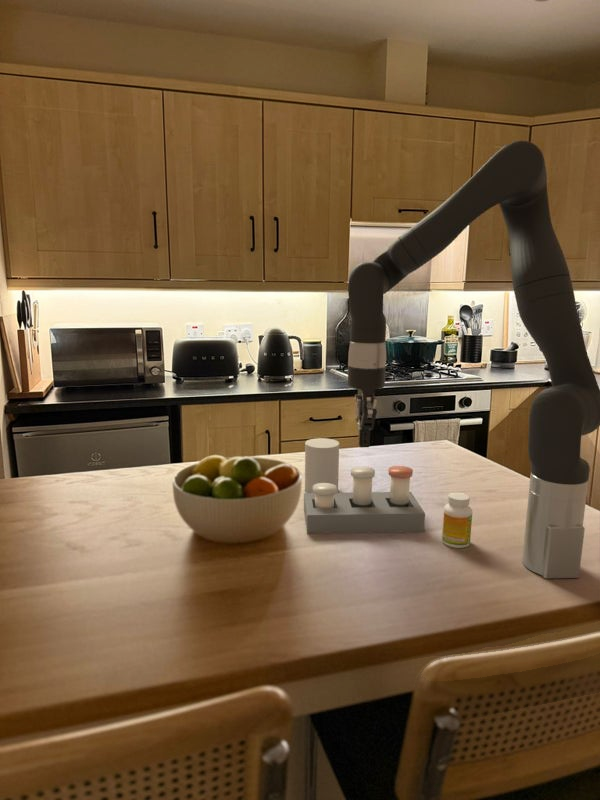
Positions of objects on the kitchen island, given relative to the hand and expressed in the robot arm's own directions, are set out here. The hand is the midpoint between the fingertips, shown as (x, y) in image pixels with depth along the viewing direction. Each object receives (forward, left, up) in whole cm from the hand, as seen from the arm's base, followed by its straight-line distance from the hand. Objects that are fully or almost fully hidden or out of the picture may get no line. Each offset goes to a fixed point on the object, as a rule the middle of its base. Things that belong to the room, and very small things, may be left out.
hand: (363, 446), depth 119 cm
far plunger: (0, +8, -16) cm, 18 cm away
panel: (0, 0, -17) cm, 17 cm away
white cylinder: (+18, +7, -17) cm, 25 cm away
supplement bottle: (-11, -17, -17) cm, 26 cm away
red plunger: (0, -8, -12) cm, 15 cm away
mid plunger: (0, 0, -12) cm, 12 cm away
